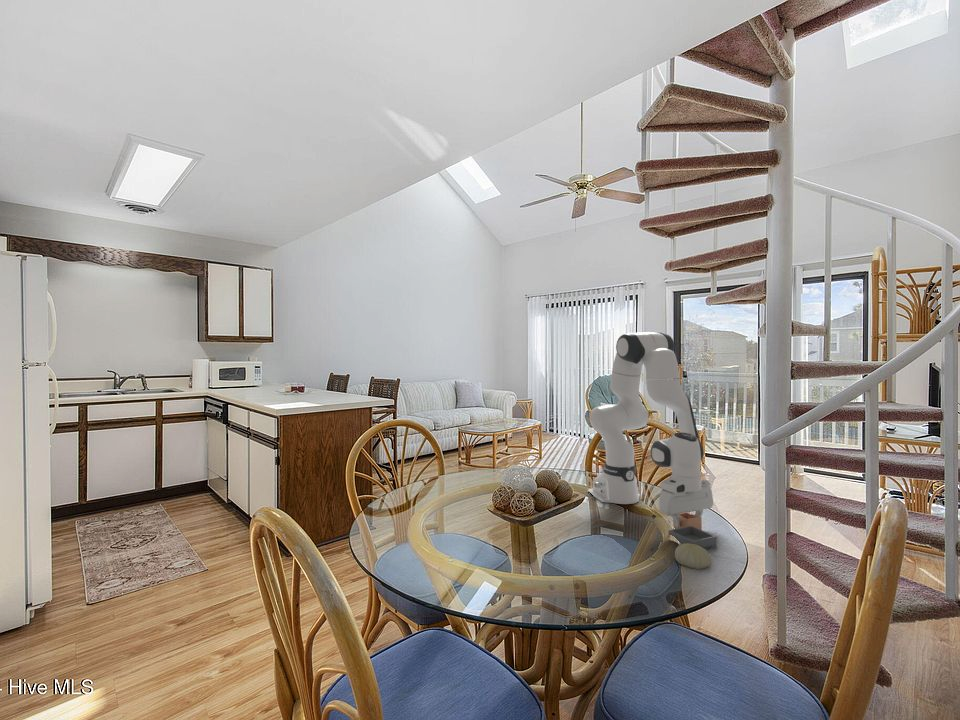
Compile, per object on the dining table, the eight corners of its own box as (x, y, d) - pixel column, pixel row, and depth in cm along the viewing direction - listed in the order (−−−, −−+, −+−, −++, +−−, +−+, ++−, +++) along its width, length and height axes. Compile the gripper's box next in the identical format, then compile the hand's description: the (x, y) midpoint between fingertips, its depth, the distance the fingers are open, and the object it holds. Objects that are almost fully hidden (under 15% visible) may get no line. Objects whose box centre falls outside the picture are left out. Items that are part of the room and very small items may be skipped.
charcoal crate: (668, 539, 139) (668, 530, 139) (691, 535, 143) (691, 525, 143) (693, 551, 130) (692, 541, 130) (716, 546, 134) (716, 536, 134)
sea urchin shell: (699, 568, 116) (680, 539, 121) (681, 580, 121) (664, 552, 126) (721, 560, 121) (702, 532, 126) (703, 572, 125) (685, 545, 130)
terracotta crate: (673, 529, 148) (673, 514, 148) (687, 526, 150) (686, 511, 150) (687, 535, 142) (687, 520, 142) (701, 532, 145) (701, 517, 145)
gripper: (702, 477, 153) (702, 516, 153) (655, 483, 146) (656, 525, 146) (717, 481, 147) (718, 522, 147) (670, 488, 140) (671, 532, 140)
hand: (687, 524), depth 146 cm, fingers open, 7 cm apart
